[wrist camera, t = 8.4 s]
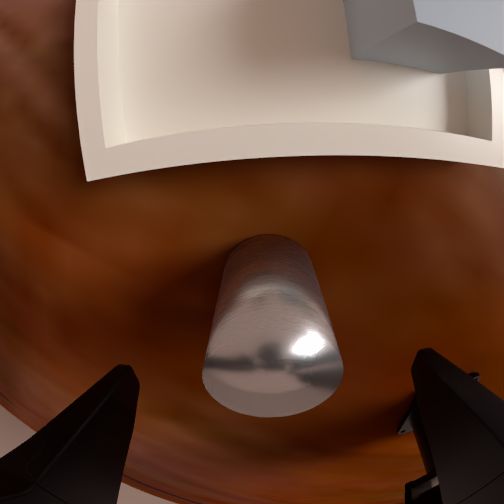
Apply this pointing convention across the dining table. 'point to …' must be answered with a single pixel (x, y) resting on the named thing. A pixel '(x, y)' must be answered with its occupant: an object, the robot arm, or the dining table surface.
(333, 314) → the dining table surface
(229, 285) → the metal cylinder
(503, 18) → the painted block
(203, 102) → the parts tray
